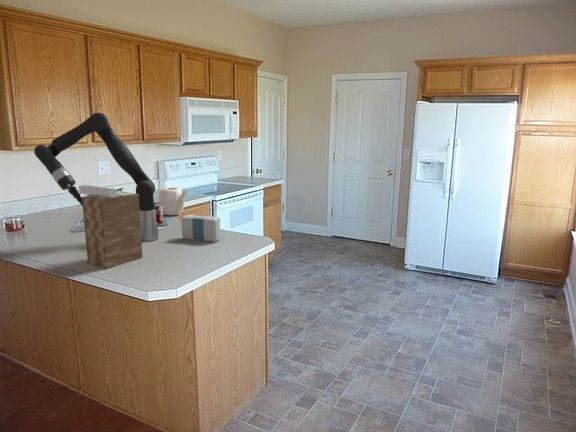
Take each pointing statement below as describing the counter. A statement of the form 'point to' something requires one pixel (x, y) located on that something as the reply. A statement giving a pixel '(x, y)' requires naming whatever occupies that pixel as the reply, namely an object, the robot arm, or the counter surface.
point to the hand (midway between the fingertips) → (83, 203)
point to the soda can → (159, 213)
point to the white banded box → (201, 227)
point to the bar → (97, 191)
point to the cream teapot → (172, 200)
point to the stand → (112, 229)
